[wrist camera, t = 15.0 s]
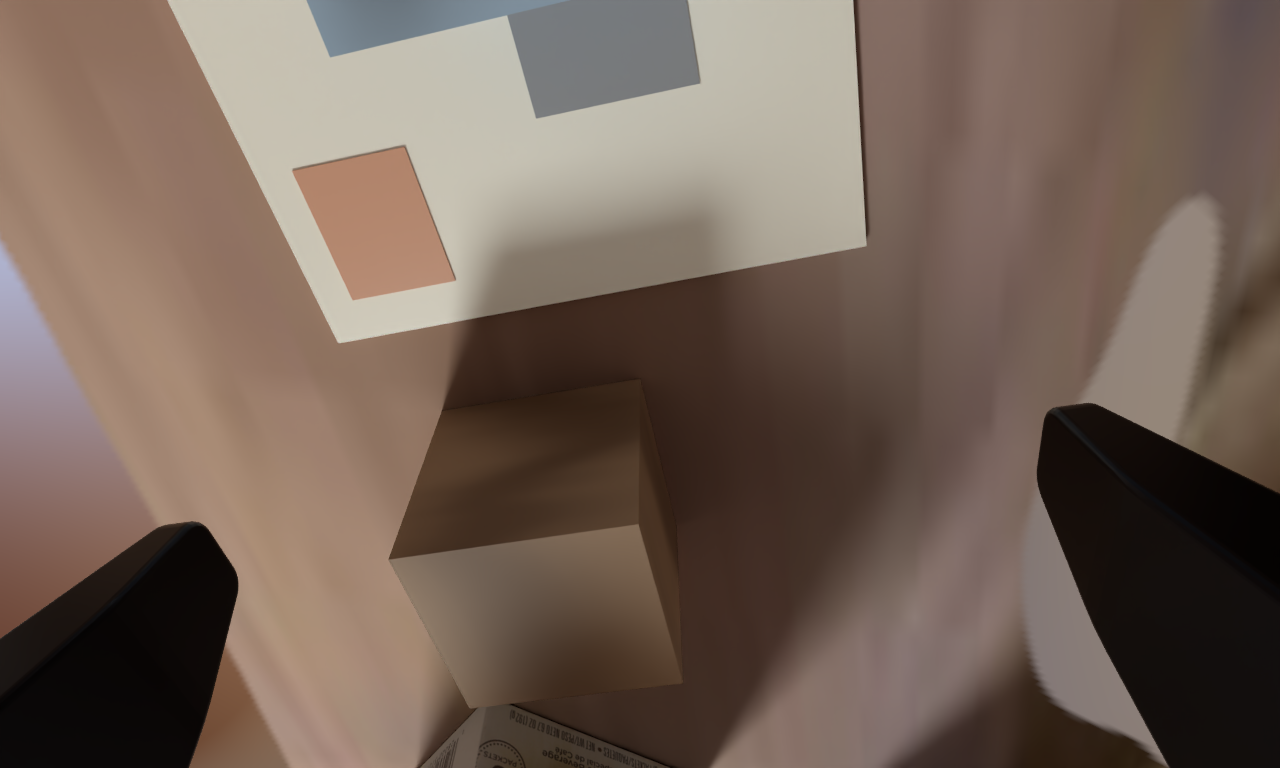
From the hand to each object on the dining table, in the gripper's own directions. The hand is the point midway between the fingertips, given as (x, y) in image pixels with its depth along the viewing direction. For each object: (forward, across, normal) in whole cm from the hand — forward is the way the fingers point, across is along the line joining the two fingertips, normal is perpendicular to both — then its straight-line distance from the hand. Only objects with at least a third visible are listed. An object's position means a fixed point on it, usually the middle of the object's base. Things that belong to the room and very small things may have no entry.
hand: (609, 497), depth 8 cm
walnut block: (+10, +3, +7) cm, 12 cm away
